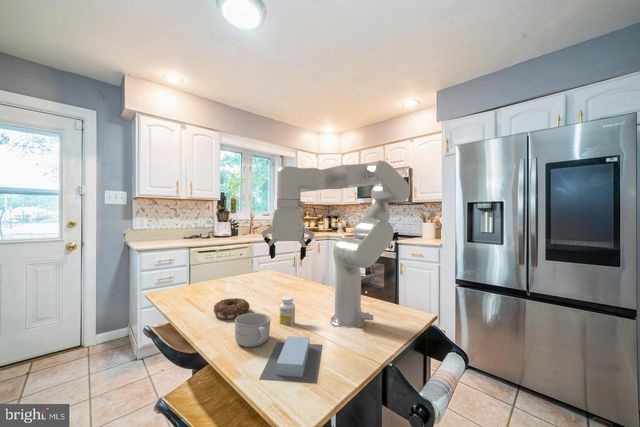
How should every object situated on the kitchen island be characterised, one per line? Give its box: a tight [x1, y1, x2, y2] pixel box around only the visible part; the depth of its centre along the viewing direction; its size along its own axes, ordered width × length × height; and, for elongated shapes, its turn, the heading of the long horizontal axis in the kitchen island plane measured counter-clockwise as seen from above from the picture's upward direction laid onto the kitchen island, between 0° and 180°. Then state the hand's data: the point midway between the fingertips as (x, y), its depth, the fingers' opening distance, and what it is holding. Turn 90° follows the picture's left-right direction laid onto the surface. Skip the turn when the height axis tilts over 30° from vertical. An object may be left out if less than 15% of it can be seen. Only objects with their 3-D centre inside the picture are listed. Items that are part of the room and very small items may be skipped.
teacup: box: [234, 312, 272, 348], centre depth 81 cm, size 14×11×8 cm
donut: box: [213, 297, 251, 320], centre depth 105 cm, size 14×14×5 cm
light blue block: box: [276, 335, 310, 377], centre depth 72 cm, size 6×14×3 cm, turn 175°
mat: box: [259, 341, 323, 384], centre depth 72 cm, size 14×18×1 cm
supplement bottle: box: [279, 295, 296, 326], centre depth 96 cm, size 5×5×10 cm
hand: (287, 258), depth 85 cm, fingers open, 9 cm apart
